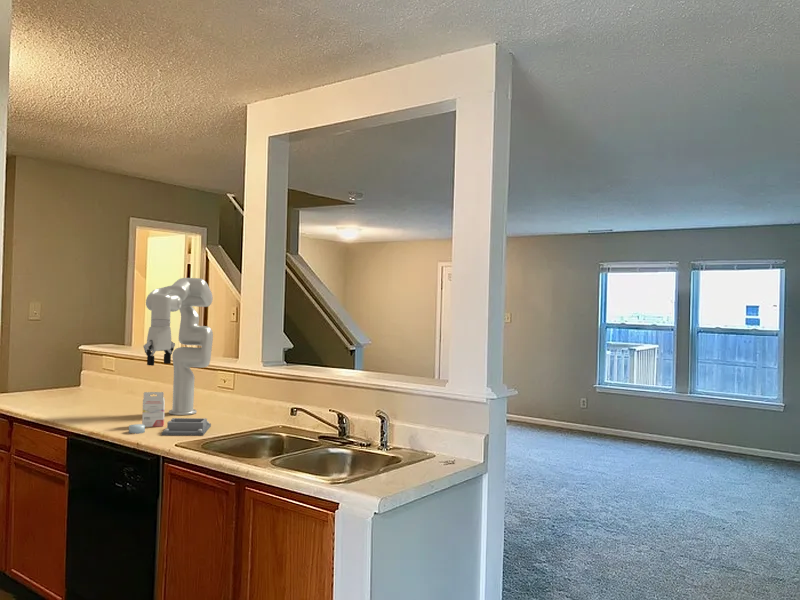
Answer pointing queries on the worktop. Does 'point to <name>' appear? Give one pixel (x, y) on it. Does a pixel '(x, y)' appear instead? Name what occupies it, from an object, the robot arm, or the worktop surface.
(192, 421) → the chassis plate
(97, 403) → the worktop surface
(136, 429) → the pale blue dome
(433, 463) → the worktop surface
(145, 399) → the ink cartridge box
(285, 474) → the worktop surface
